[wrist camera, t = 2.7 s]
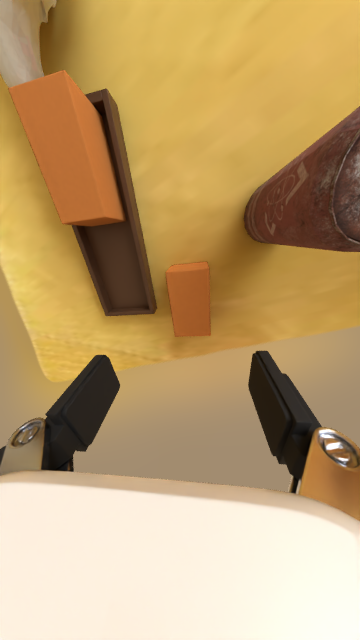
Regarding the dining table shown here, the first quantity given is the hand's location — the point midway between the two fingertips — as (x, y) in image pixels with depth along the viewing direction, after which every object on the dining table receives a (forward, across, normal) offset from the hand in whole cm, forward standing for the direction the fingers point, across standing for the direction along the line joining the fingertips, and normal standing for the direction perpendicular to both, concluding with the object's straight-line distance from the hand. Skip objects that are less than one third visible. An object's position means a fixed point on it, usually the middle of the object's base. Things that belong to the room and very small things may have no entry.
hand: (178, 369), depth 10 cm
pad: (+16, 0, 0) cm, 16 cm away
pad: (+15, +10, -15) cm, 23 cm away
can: (+16, -10, -9) cm, 21 cm away
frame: (+16, +10, -9) cm, 20 cm away
